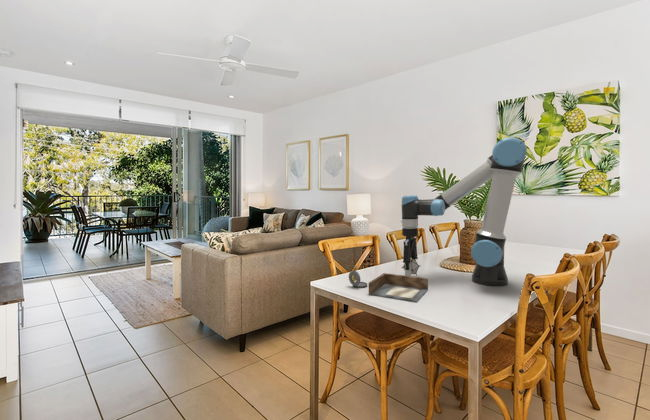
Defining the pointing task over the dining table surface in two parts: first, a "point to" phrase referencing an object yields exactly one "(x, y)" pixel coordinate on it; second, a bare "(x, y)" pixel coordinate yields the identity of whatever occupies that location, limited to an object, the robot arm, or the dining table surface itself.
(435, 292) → the dining table surface
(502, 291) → the dining table surface
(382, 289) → the tray
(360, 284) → the pocket watch
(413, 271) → the game die
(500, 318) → the dining table surface
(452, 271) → the dining table surface
